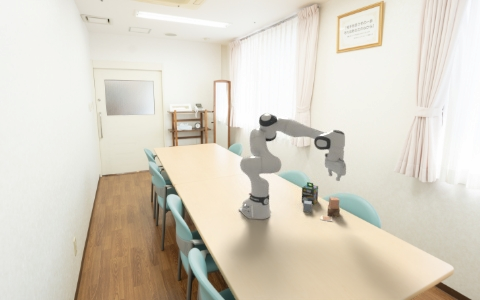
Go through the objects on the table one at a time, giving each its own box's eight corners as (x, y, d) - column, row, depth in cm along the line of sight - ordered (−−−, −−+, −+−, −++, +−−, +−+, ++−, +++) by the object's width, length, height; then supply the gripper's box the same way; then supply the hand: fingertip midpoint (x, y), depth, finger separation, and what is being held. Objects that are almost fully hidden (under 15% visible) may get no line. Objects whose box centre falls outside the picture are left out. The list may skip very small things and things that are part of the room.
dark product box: (317, 200, 195) (319, 181, 192) (313, 205, 187) (314, 185, 184) (305, 198, 200) (306, 179, 197) (301, 201, 193) (302, 182, 189)
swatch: (320, 219, 165) (320, 219, 165) (320, 215, 171) (321, 215, 170) (332, 221, 163) (332, 220, 163) (332, 217, 168) (332, 216, 168)
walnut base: (327, 216, 171) (328, 208, 170) (327, 211, 177) (328, 204, 176) (339, 217, 169) (339, 210, 168) (338, 213, 175) (339, 206, 174)
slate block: (303, 211, 177) (303, 203, 175) (303, 208, 181) (304, 200, 180) (310, 212, 175) (311, 204, 174) (311, 209, 180) (311, 201, 178)
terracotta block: (330, 208, 170) (331, 199, 169) (328, 205, 175) (329, 197, 174) (338, 209, 169) (339, 200, 168) (336, 205, 174) (337, 197, 173)
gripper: (349, 160, 152) (347, 183, 155) (332, 153, 172) (331, 173, 175) (339, 161, 152) (337, 183, 154) (323, 153, 171) (322, 173, 174)
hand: (334, 178), depth 165 cm, fingers open, 8 cm apart
